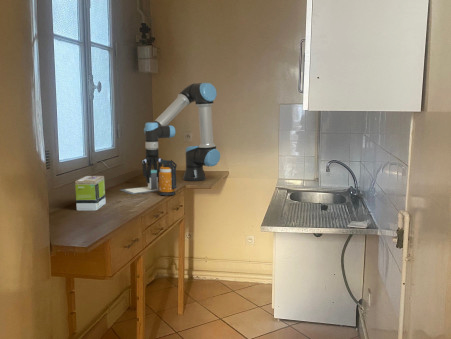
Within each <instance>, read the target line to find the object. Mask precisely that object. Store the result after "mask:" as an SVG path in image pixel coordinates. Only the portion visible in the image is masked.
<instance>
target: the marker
mask: <svg viewBox="0 0 451 339" xmlns="http://www.w3.org/2000/svg"><path fill="white" fill-rule="evenodd" d="M150 178H151V189H158V188H157V170H154V169H151V172H150Z"/></svg>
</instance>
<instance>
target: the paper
mask: <svg viewBox="0 0 451 339" xmlns="http://www.w3.org/2000/svg"><path fill="white" fill-rule="evenodd" d="M119 191H121V192H124V193H126V194H129V195H139V194H146V193H154V192H159V188H157V189H149V188H148V185H147V186H141V187H132V188H123V189H119ZM138 193H139V194H138Z"/></svg>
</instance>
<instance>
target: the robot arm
mask: <svg viewBox="0 0 451 339" xmlns="http://www.w3.org/2000/svg"><path fill="white" fill-rule="evenodd" d="M216 98H217V89H216V87H215V86H214V84H212V83H210V82H198V83H191V84H188V85H187V86H186V87H185V88H183V90H181V91H180V93H178V94H177V98H175V99H174V101H173V102H171V104H169V105H168V106H167V108H166V109H165V110H164V111H162V113H161V114H159V116H158V117H157V118H156V119H155V120H154V121H152V122H145V124H144V128H143V133H144V136H145V138H144V139H145V142H144V144H145V146H144V147H145V158H144V159H142V160H141V161H140V162H141V164H142V174H143V177H145V178H146V184H147V186H148V188H149V189H151V178H150V172H151V170H152V166H153V170H157V189H159V172H160V167H162V166H163V164H162V163H161V162H160V161H162V160H164V159H163V158H160V157H159V139H170V138H174V137H175V136H176V128H175V126H173V125H169V124H170V123H171V121H173V120H174V119H175V118H176V117H177V116H178V115H179V114H180V112H181V111H183V109H184V108H186V106H187V107H188V106H189V105H190V104H192V103H194V102H195V106H196V107H197V108H198V111H197V112H198V113H197V114H198V125H199V127H198V128H199V138H200V139H199V141H200V143H199V145H191V146H187V147H185V170H184V173H183V178H182V179H183V181H189V182H199V181H205V180H206V173H205V170H204V167H215V166H217V165H218V163H219V162H220V160H221V152H220V151H219V150H218V149H217V145H216V144H215V143H214V132H213V131H214V130H213V129H214V128H213V114H212V113H213V112H212V106H213V105H214V101H215V100H216Z"/></svg>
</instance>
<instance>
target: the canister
mask: <svg viewBox="0 0 451 339" xmlns="http://www.w3.org/2000/svg"><path fill="white" fill-rule="evenodd" d="M160 162H161V163H162V167H160V172H159V182H158V189H159V191H158V194H159V195H160V196H164V197H169V196H173V195H175V194H176V189H177V188H178V185H177V166H178V165H177V163H176V162H174V161H173V160H172V159H171V160H170V159H169V160H167V159H163V160H162V161H160Z"/></svg>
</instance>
